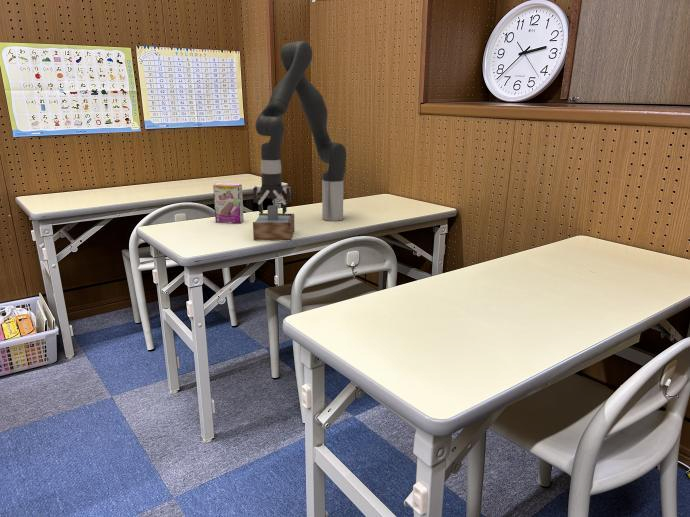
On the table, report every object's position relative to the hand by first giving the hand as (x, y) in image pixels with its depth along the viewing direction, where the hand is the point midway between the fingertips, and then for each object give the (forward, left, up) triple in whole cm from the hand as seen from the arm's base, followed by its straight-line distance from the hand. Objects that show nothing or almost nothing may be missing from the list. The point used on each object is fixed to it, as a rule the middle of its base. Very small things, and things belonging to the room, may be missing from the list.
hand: (272, 213), depth 193 cm
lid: (0, 0, -3) cm, 3 cm away
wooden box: (-1, 0, -9) cm, 9 cm away
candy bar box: (+21, -20, -9) cm, 31 cm away
